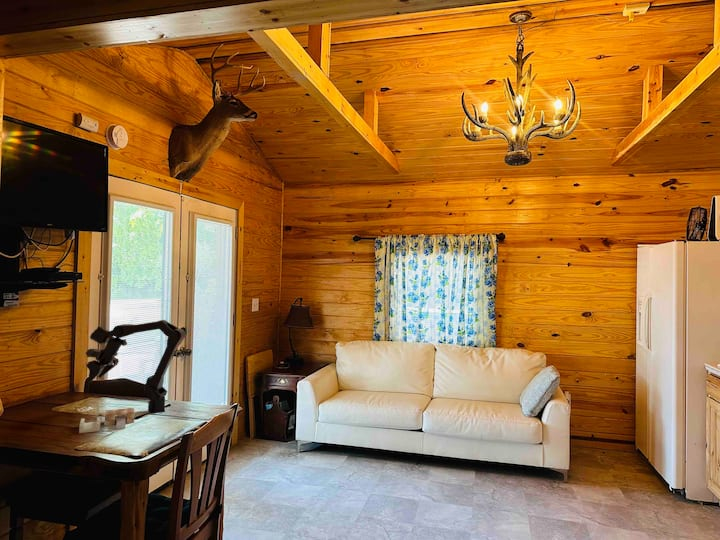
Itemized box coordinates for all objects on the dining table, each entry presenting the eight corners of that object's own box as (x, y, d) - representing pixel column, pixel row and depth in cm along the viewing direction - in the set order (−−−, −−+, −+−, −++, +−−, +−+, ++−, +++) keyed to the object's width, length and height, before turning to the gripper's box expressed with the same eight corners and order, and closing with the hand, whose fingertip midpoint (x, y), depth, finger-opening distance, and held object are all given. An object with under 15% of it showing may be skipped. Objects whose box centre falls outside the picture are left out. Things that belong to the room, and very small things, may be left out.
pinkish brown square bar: (116, 417, 207) (116, 410, 207) (124, 417, 208) (124, 409, 209) (116, 430, 191) (116, 422, 191) (125, 429, 192) (125, 421, 193)
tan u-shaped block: (133, 418, 206) (133, 407, 206) (134, 422, 200) (134, 411, 200) (104, 421, 201) (105, 410, 201) (104, 425, 195) (104, 414, 195)
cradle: (100, 423, 197) (100, 416, 197) (99, 430, 188) (100, 423, 188) (81, 425, 194) (81, 418, 194) (79, 433, 185) (79, 425, 185)
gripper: (105, 338, 227) (88, 367, 226) (84, 344, 208) (66, 375, 208) (126, 349, 227) (109, 378, 227) (107, 356, 209) (89, 387, 208)
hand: (94, 379), depth 217 cm, fingers open, 9 cm apart
